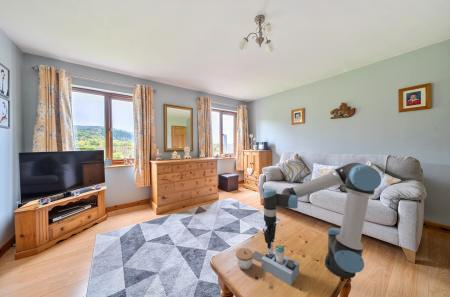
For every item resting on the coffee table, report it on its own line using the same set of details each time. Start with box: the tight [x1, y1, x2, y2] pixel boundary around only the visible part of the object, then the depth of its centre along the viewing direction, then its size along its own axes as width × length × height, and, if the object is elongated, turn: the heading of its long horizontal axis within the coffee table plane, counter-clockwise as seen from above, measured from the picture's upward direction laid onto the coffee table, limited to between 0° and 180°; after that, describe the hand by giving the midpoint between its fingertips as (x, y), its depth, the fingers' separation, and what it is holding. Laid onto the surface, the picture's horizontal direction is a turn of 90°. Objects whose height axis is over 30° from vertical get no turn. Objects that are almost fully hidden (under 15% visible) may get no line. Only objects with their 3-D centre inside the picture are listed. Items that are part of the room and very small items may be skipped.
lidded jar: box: [235, 247, 254, 270], centre depth 101 cm, size 11×11×9 cm
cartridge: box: [275, 245, 285, 266], centre depth 97 cm, size 5×5×11 cm
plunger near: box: [288, 259, 294, 271], centre depth 92 cm, size 3×3×4 cm
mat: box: [253, 250, 265, 262], centre depth 109 cm, size 7×7×1 cm
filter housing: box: [260, 249, 300, 286], centre depth 97 cm, size 12×18×6 cm, turn 46°
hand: (270, 252), depth 101 cm, fingers closed
